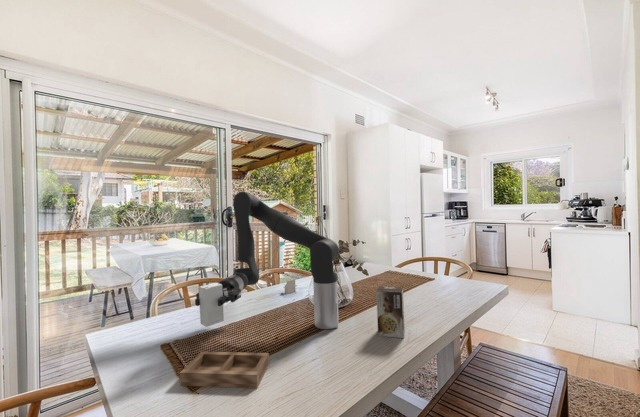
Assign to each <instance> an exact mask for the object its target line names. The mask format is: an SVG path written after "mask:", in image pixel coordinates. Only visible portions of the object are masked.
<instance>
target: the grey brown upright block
mask: <svg viewBox="0 0 640 417" xmlns="http://www.w3.org/2000/svg"><path fill="white" fill-rule="evenodd" d="M375 294H376V315H377V316H376V317H377V336H378V337H379V336H380V337H390V338H398V339H399V338H400V339H404V338H405V333H406V330H405V308H404V307H405V306H404V287H401V286H400V287H399V286H398V287H397V286H381V285H379V286H378V287H377V289H376V292H375Z"/></svg>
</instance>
